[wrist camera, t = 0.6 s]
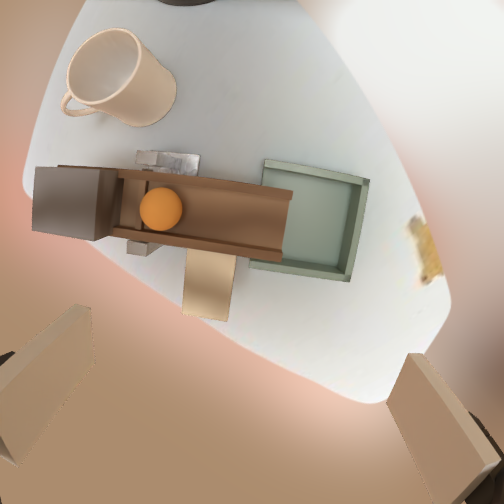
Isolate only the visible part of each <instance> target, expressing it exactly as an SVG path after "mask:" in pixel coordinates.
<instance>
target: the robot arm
mask: <svg viewBox="0 0 504 504" xmlns="http://www.w3.org/2000/svg"><path fill="white" fill-rule="evenodd" d="M159 1H161V2H164V3H167V4H171V5H180V6H189V5H198V4H203V3H208V2H211V1H214V0H159ZM94 354H95V353H94V345H93V333H92V321H91V308H90V307H86V306H82V305H78V304H74V305H73V306H72V307H71V308H69V309H68V310H67V311H66V312H65V313H63V314H62V315H61V316H59V317H58V318H57V319H56V320H54V321H53V322H52V323H51V324H49V325H48V326H47V327H46V328H45V329H43V330H42V331H41V332H40V333H39V334H37V335H36V336H35V337H34V338H33V339H31V340H30V341H29V342H28V343H27V344H25V345H24V346H23V347H22V348H21V349H20V350H18V351H17V352H16V353H15V352H13V351H11V352H9V353H6V354H4V355H2V356H0V455H1V457H2V458H4V459H5V460H7V461H8V462H10V463H12V464H13V465H15V466H17V467H19V466H20V465H21V464H22V462H23V460H24V459H25V458H26V456H27V455H28V453H29V452H30V450H31V449H32V447H33V446H34V445H35V443H36V442H37V440H38V439H39V438H40V436H41V435H42V433H43V432H44V431H45V429H46V428H47V427H48V425H49V424H50V422H51V421H52V420H53V418H54V417H55V415H56V414H57V413H58V412H59V410H60V409H61V407H62V406H63V405H64V403H65V402H66V401H67V399H68V398H69V397H70V395H71V394H72V393H73V392H74V390H75V389H76V388H77V386H78V385H79V384H80V382H81V381H82V380H83V378H84V377H85V376H86V375H87V373H88V372H89V370H90V369H91V368H92V367H93V366H94V364H95V355H94ZM386 403H387V406H388V408H389V410H390V412H391V414H392V416H393V418H394V420H395V422H396V424H397V426H398V428H399V430H400V432H401V434H402V437H403V439H404V441H405V443H406V445H407V447H408V449H409V451H410V453H411V455H412V458H413V460H414V462H415V464H416V467H417V469H418V471H419V473H420V475H421V477H422V480H423V482H424V484H425V487H426V489H427V491H428V493H429V496H430V498H431V500H432V503H433V504H461V503H462V502H463V501H464V500H465V502H466V504H504V454H503V452H502V451H501V449H500V448H499V446H498V445H497V444H496V442H495V441H494V439H493V438H492V437H491V436H490V434H489V433H488V431H487V430H486V429H485V427H484V426H483V424H482V423H481V422H480V420H479V419H478V418H476V417H475V416H474V415H473V414H472V413H470V412H468V411H467V410H466V409H465V407H464V406H463V405H462V404H461V402H460V401H459V400H458V398H457V397H456V396H455V394H454V393H453V392H452V390H451V389H450V388H449V387H448V385H447V384H446V383H445V381H444V380H443V379H442V378H441V376H440V375H439V374H438V373H437V371H436V370H435V369H434V367H433V366H432V365H431V364H430V363H429V361H428V360H427V359H426V358H425V356H424V355H423V354H420V353H408V355H407V357H406V360H405V362H404V365H403V367H402V369H401V372H400V374H399V376H398V378H397V381H396V383H395V385H394V387H393V389H392V391H391V393H390V396H389V398H388V400H387V402H386ZM0 504H2V503H1V498H0Z"/></svg>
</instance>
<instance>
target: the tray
mask: <svg viewBox="0 0 504 504" xmlns="http://www.w3.org/2000/svg"><path fill="white" fill-rule="evenodd" d="M369 182H370V179H366V178H362V177H357V176H353V175H348V174H344V173H339V172H334V171H330V170H325V169H320V168H314V167H309V166H304V165H298V164H293V163H287V162H281V161H275V160H269V159H265V163H264V170H263V176H262V182H261V185H262V186H268V187H274V188H280V189H286V190H292V191H293V197H292V200H290V202H289V208H288V214H287V220H286V226H285V232H284V238H283V244H282V252H283V255H282V261H281V262H275V261H268V260H262V259H255V258H250V260H249V268H254V269H260V270H267V271H274V272H280V273H287V274H294V275H301V276H308V277H315V278H322V279H329V280H336V281H343V282H350V279H351V275H352V270H353V266H354V261H355V257H356V252H357V247H358V243H359V238H360V233H361V228H362V223H363V217H364V212H365V206H366V200H367V194H368V188H369Z"/></svg>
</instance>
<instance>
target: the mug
mask: <svg viewBox="0 0 504 504" xmlns="http://www.w3.org/2000/svg"><path fill="white" fill-rule="evenodd" d="M66 81H67V87H68V92H67V93H66V94H65V95H64V97H63V98H62V100H61V109H62V111H63V113H64V114H66V115H68V116H84V115H89V114H92V113H95V112H98V111H102V112H104V113H106V114H109V115H111V116H114V117H116V118H118V119H120V120H121V121H122V122H124V123H125V124H127V125H130V126H134V127H144V126H148V125H151V124H153V123H155V122H157V121H159V120H160V119H161V118H163V117H164V116H165V115H166V114H167V113H168V111H169V110H170V109H171V107H172V105H173V103H174V101H175V97H176V82H175V79H174V77H173V75H172V74H171V73H170V72H169V71H168V70H167V69H166V68H164V67H163V66H162V65H161V64H160V63H159V62H158V60H157V59H156V58H155V57H154V56H153V55H152V53H151V52H150V51H149V50H148V49H147V48H146V47H145V45H144V44H143V43H142V42H141V41H140V40H139V39H138V37H137V36H136V35H135V34H134V33H132V32H131V31H129V30H126V29H123V28H110V29H106V30H103V31H100V32H98V33H96V34H94V35H93V36H91V37H90V38H89V39H87V40H86V41H85V42H84V43H83V44H82V45H81V46H80V47H79V48H78V50H77V51H76V52H75V54H74V55H73V57H72V59H71V61H70V64H69V66H68V70H67V77H66ZM71 98H74V99H75V100H77V101H78V102H80V103H82V104H85V105H87V106H90V108H87V109H83V110H69V109H67V108H66V105H67V103H68V102H69V101H70V99H71Z"/></svg>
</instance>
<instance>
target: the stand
mask: <svg viewBox="0 0 504 504" xmlns="http://www.w3.org/2000/svg"><path fill="white" fill-rule="evenodd" d="M199 162H200V155H194V154H184V153H174V152H162V151H140V150H137V155H136V162H135V163H136V164H143V165H148V169H153V172H161V173H170V174H180V175H188V176H198V169H199ZM162 245H164V244H158V243H151V242H145V241H139V240H132V239H130V240H128V241H127V253H128V254H133V255H139V256H145V257H146V256H148V255H149V254H151V253H152V252H154V251H155V250H157V249H158V248H159V247H161V246H162ZM168 246H171V245H168ZM174 247H177V246H174ZM181 248H183V247H181Z"/></svg>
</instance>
